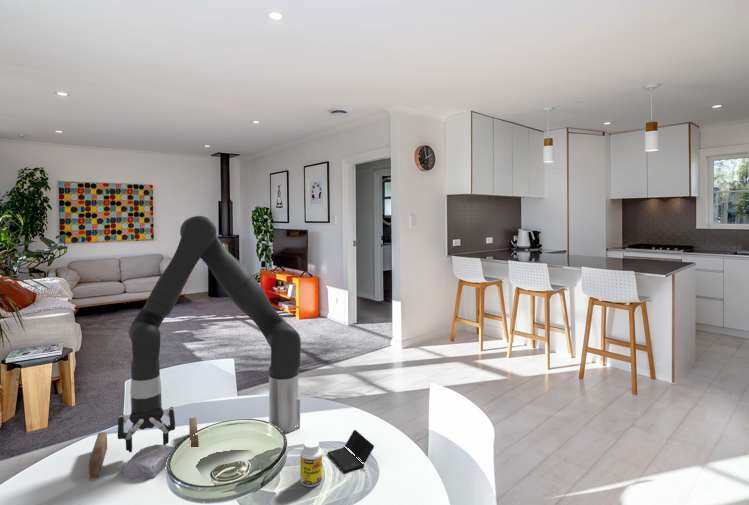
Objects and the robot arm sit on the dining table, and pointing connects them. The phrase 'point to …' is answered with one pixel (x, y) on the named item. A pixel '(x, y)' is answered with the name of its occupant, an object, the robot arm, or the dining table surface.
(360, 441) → the handheld gaming console
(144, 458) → the stone block
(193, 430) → the walnut chute
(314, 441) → the supplement bottle
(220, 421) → the dining table surface
